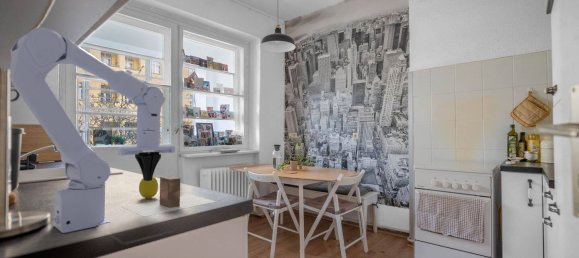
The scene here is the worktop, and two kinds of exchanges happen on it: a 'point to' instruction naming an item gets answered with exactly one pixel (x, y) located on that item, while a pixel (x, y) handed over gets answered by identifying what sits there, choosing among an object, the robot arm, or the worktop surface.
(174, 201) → the brown wooden block
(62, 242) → the worktop surface
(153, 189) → the lemon
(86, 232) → the worktop surface
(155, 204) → the mat
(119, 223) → the worktop surface
